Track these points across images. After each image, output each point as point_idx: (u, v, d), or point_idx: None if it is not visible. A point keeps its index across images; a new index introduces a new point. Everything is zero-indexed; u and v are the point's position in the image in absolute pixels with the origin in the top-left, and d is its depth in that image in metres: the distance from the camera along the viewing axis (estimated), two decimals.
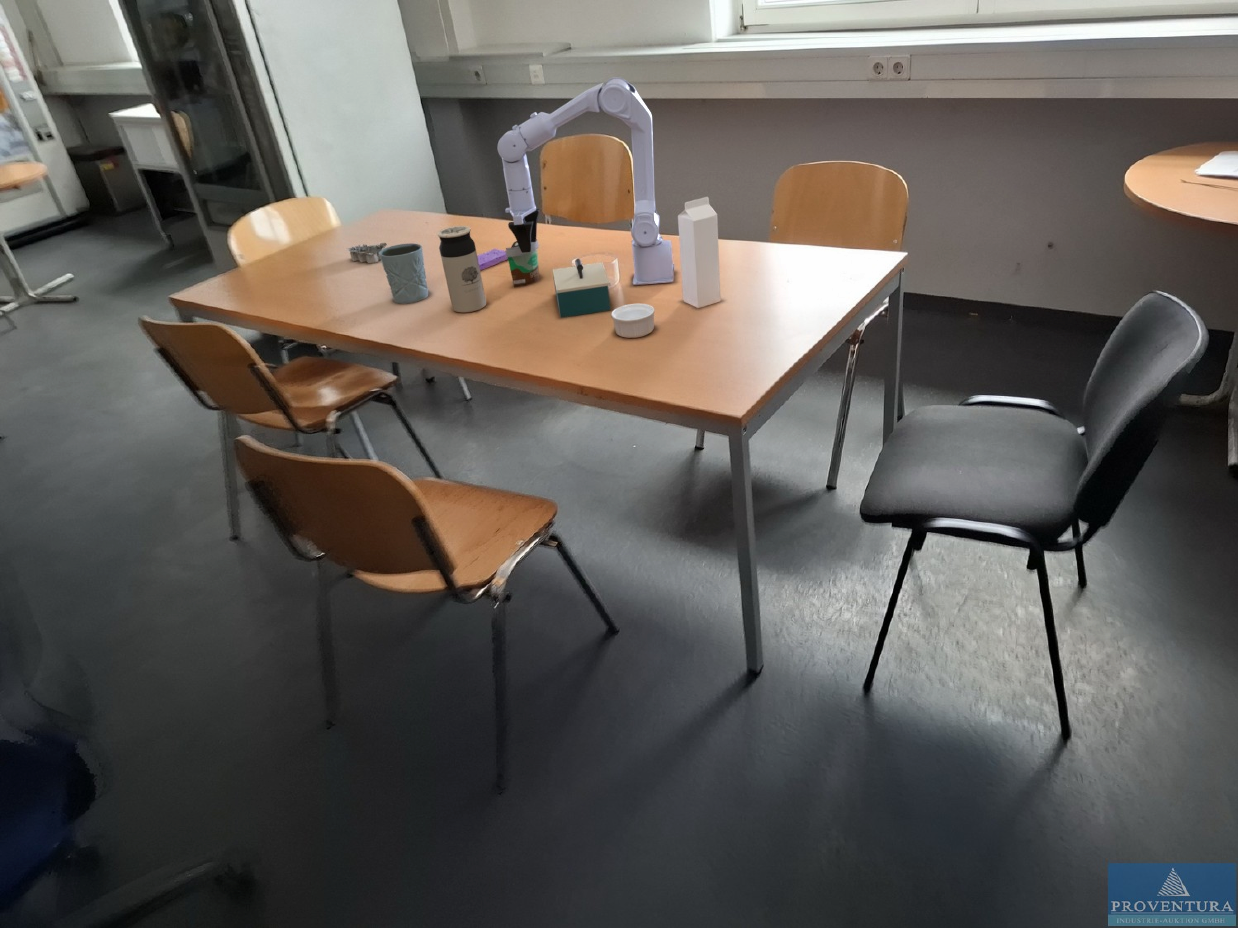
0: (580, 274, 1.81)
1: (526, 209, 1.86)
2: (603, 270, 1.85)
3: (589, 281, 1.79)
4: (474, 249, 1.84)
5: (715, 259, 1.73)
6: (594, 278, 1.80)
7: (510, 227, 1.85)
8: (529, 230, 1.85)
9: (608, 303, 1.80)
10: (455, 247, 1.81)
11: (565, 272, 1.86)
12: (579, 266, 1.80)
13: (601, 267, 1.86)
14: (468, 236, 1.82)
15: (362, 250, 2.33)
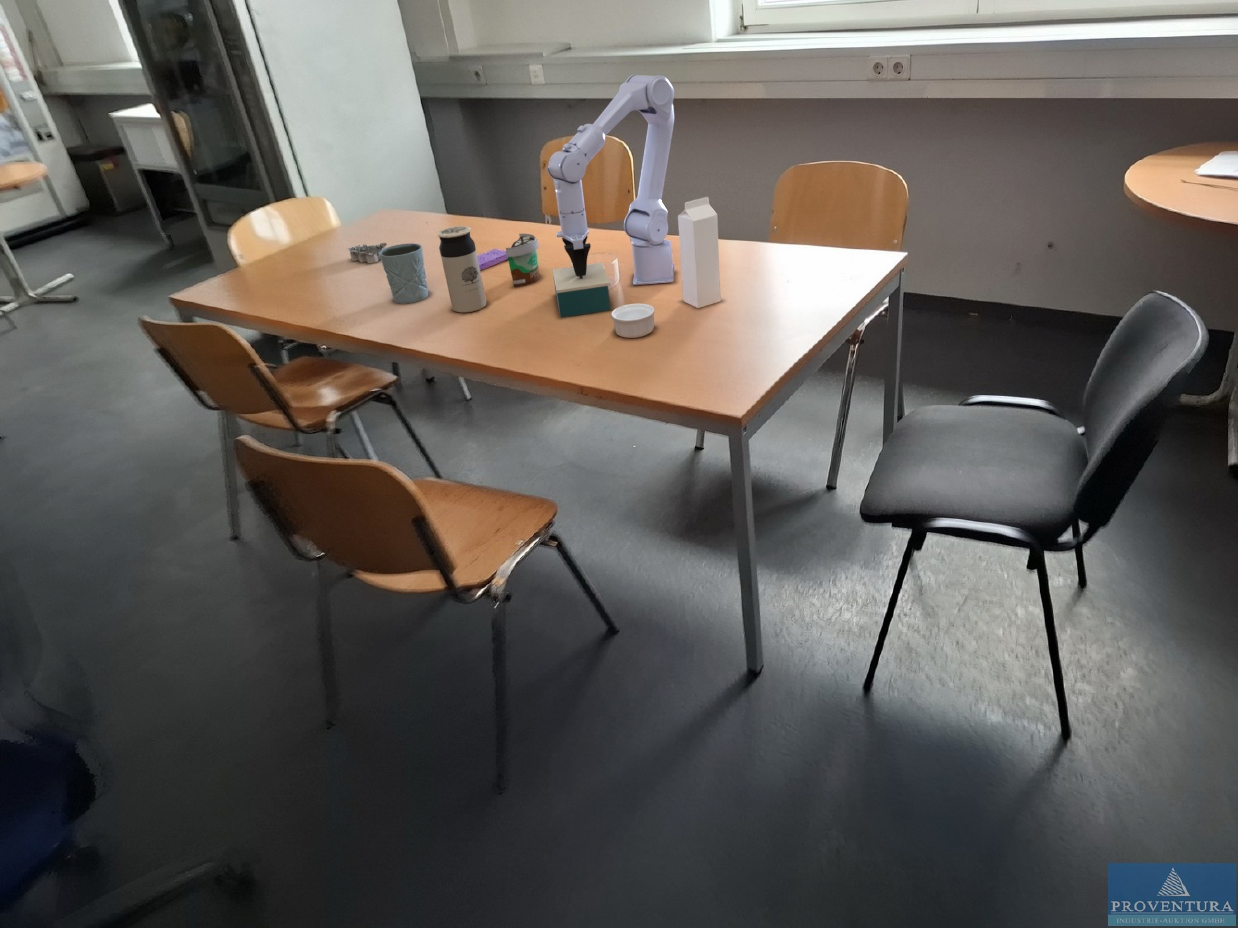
0: None
1: (581, 232, 1.76)
2: (603, 270, 1.85)
3: (589, 281, 1.79)
4: (474, 249, 1.84)
5: (715, 259, 1.73)
6: (594, 278, 1.80)
7: (568, 250, 1.75)
8: (587, 252, 1.76)
9: (608, 303, 1.80)
10: (455, 247, 1.81)
11: (565, 272, 1.86)
12: None
13: (601, 267, 1.86)
14: (468, 236, 1.82)
15: (362, 250, 2.33)
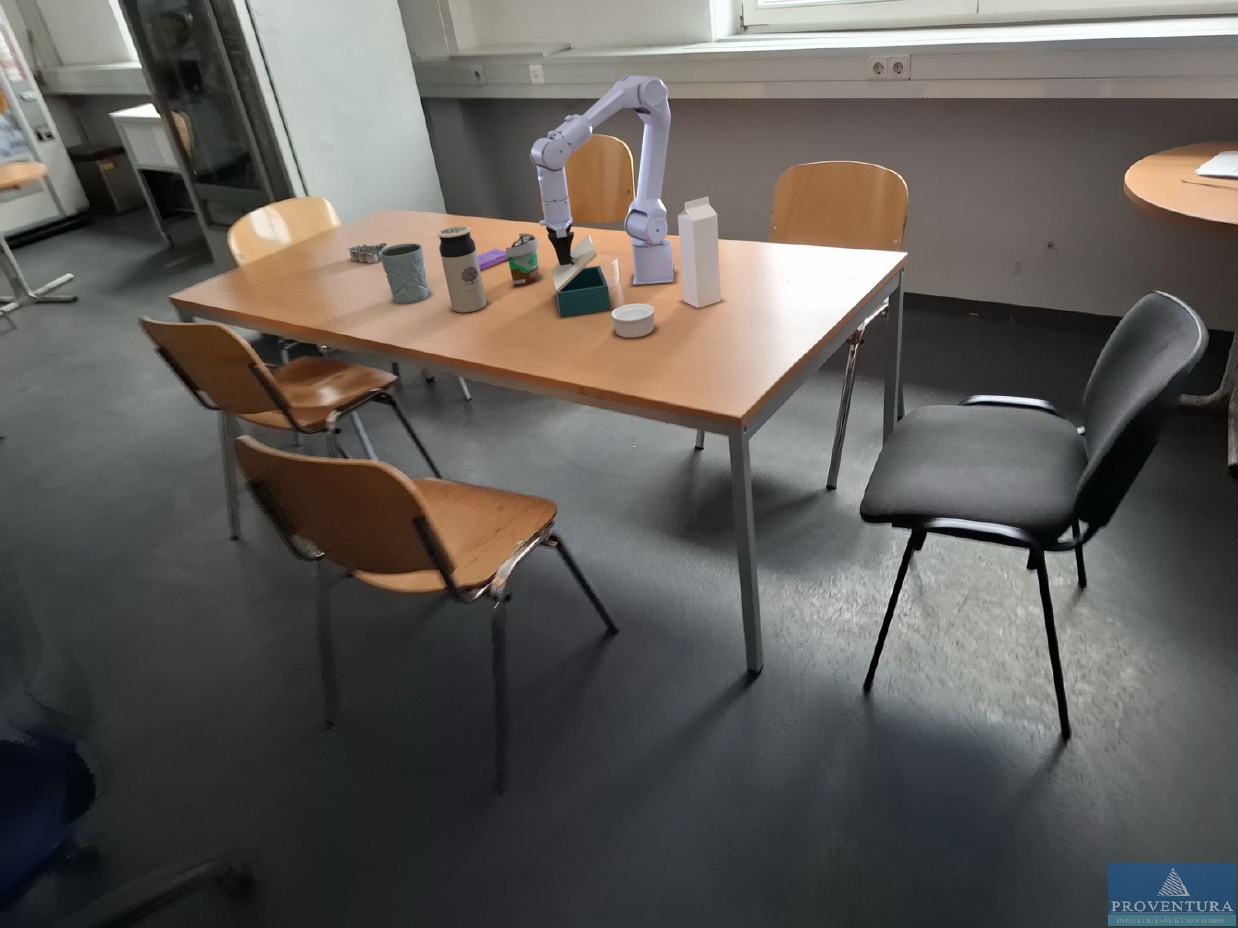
0: (570, 261, 1.79)
1: (565, 220, 1.74)
2: (589, 243, 1.81)
3: (579, 263, 1.77)
4: (474, 249, 1.84)
5: (715, 259, 1.73)
6: (583, 257, 1.78)
7: (551, 239, 1.73)
8: (571, 241, 1.75)
9: (608, 303, 1.80)
10: (455, 247, 1.81)
11: (561, 266, 1.85)
12: None
13: (587, 240, 1.83)
14: (468, 236, 1.82)
15: (362, 250, 2.33)
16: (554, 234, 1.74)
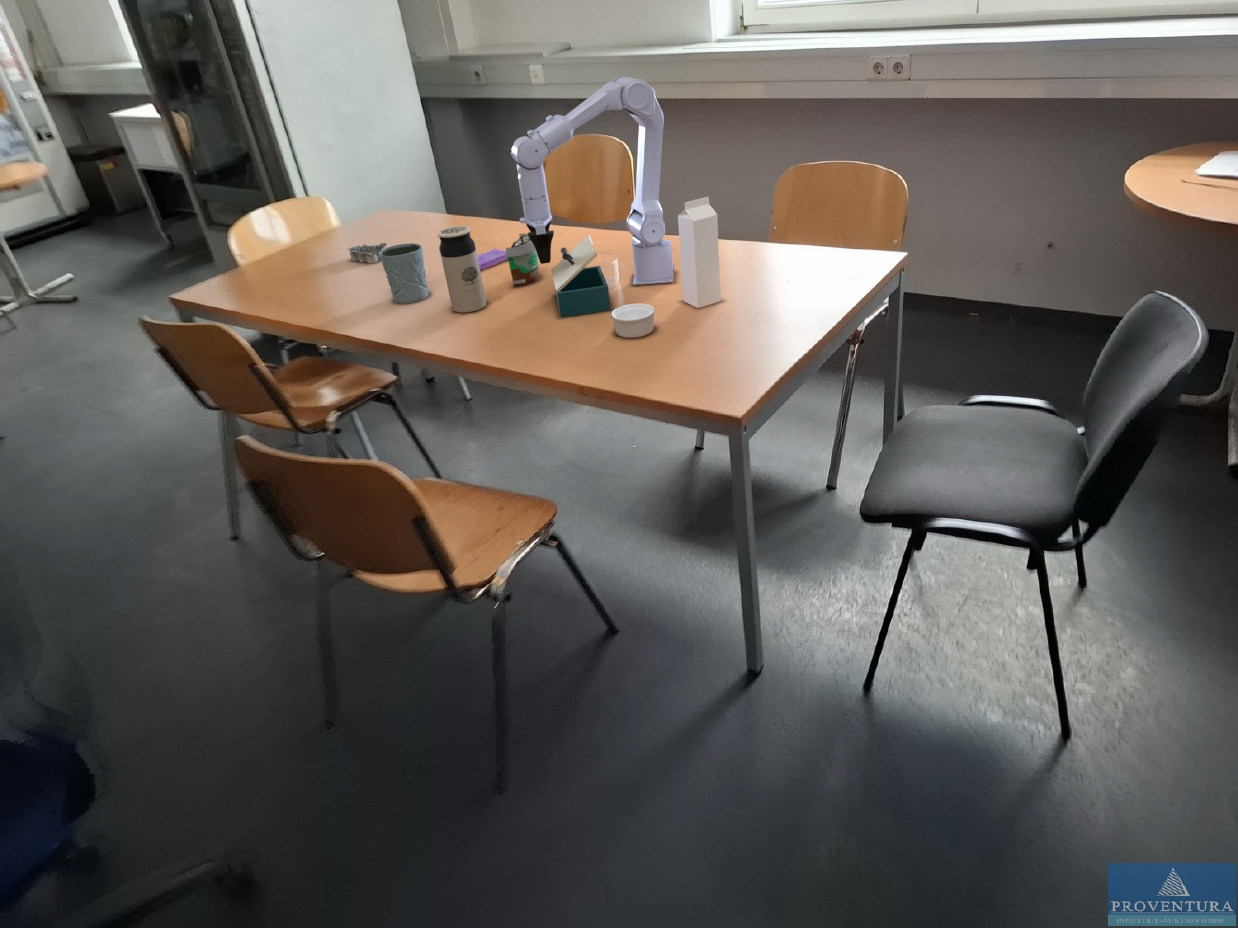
0: (570, 261, 1.79)
1: (544, 218, 1.77)
2: (589, 243, 1.81)
3: (579, 263, 1.77)
4: (474, 249, 1.84)
5: (715, 259, 1.73)
6: (583, 257, 1.78)
7: (531, 237, 1.75)
8: (550, 239, 1.77)
9: (608, 303, 1.80)
10: (455, 247, 1.81)
11: (561, 266, 1.85)
12: (564, 255, 1.78)
13: (587, 241, 1.83)
14: (468, 236, 1.82)
15: (362, 250, 2.33)
16: (534, 233, 1.76)
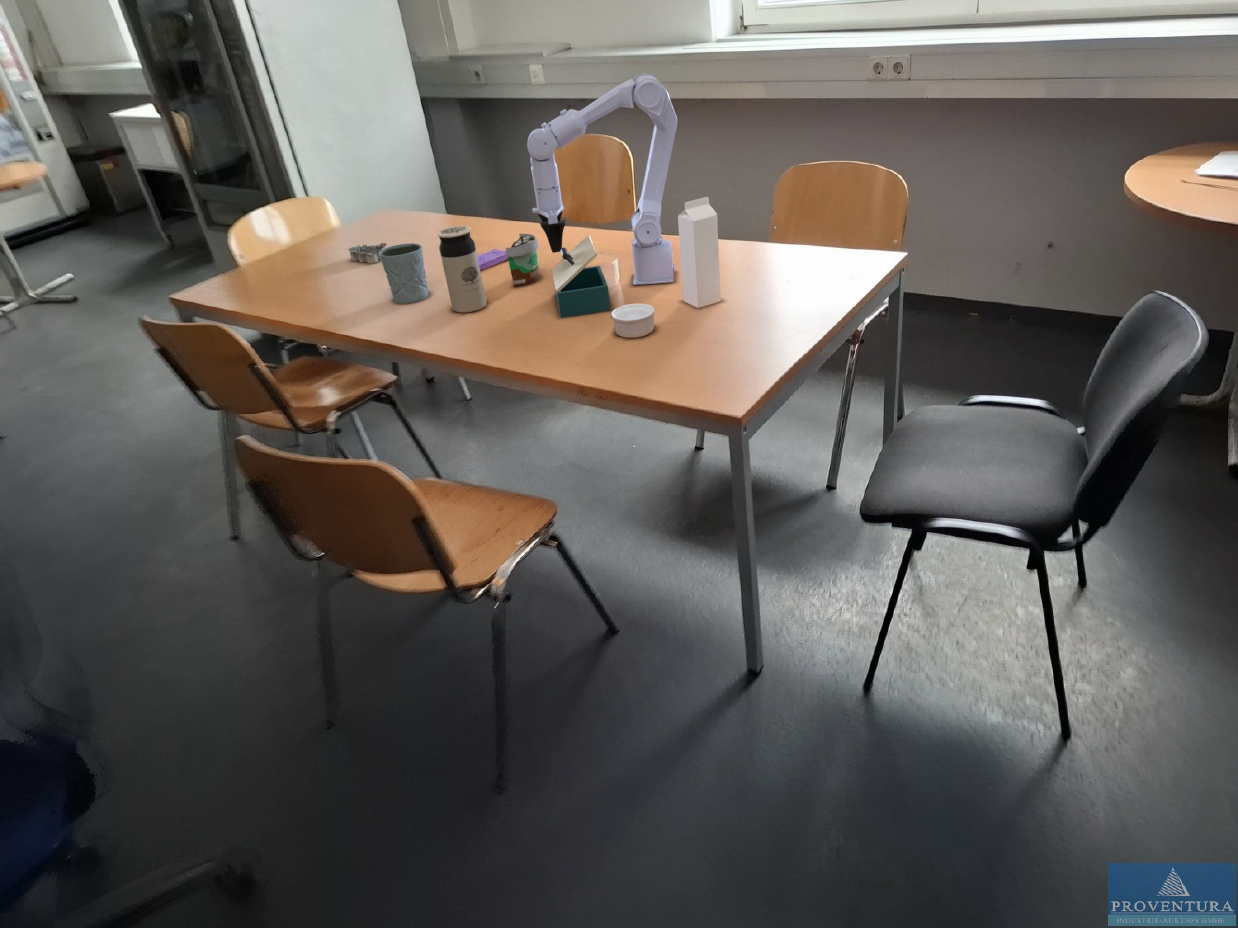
0: (570, 261, 1.79)
1: (556, 208, 1.83)
2: (589, 243, 1.81)
3: (579, 263, 1.77)
4: (474, 249, 1.84)
5: (715, 259, 1.73)
6: (583, 257, 1.78)
7: (543, 227, 1.81)
8: (562, 229, 1.82)
9: (608, 303, 1.80)
10: (455, 247, 1.81)
11: (561, 266, 1.85)
12: (564, 255, 1.78)
13: (587, 241, 1.83)
14: (468, 236, 1.82)
15: (362, 250, 2.33)
16: (546, 222, 1.82)
